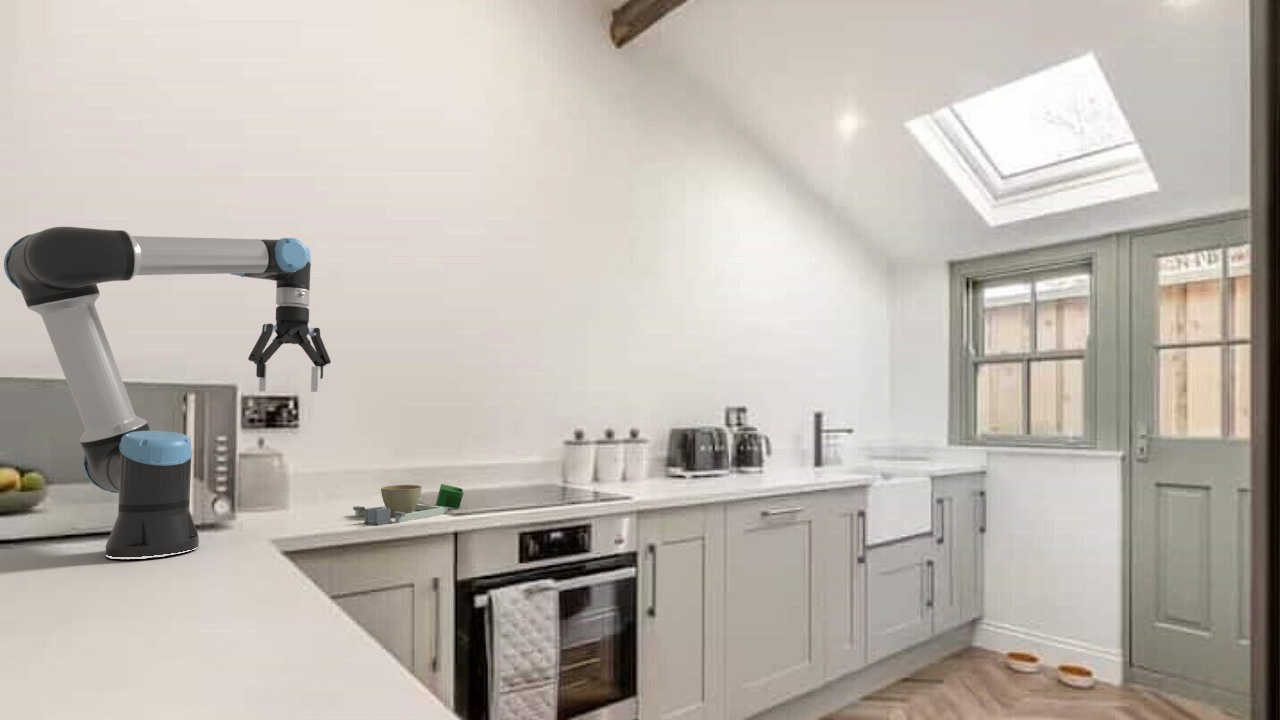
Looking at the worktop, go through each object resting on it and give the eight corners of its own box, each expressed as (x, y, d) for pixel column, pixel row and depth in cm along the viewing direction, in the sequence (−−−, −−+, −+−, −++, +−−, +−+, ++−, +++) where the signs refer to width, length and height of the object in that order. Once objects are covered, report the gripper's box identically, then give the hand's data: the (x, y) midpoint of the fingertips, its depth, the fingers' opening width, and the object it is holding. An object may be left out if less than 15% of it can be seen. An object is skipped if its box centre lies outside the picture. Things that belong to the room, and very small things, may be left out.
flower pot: (395, 519, 176) (395, 490, 177) (372, 515, 183) (373, 487, 183) (429, 514, 184) (429, 486, 185) (406, 510, 190) (406, 483, 191)
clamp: (454, 525, 192) (463, 497, 190) (432, 521, 191) (440, 492, 188) (458, 502, 204) (466, 475, 201) (437, 498, 202) (445, 470, 199)
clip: (378, 525, 168) (378, 510, 169) (364, 523, 171) (364, 508, 171) (391, 523, 172) (392, 508, 172) (378, 521, 175) (378, 506, 175)
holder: (401, 522, 172) (401, 513, 172) (353, 515, 182) (353, 506, 182) (450, 513, 186) (450, 504, 186) (403, 507, 195) (403, 499, 195)
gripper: (251, 299, 166) (248, 391, 165) (346, 310, 187) (344, 391, 186) (234, 302, 170) (231, 391, 169) (328, 312, 191) (326, 391, 190)
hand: (290, 391), depth 177 cm, fingers open, 13 cm apart
